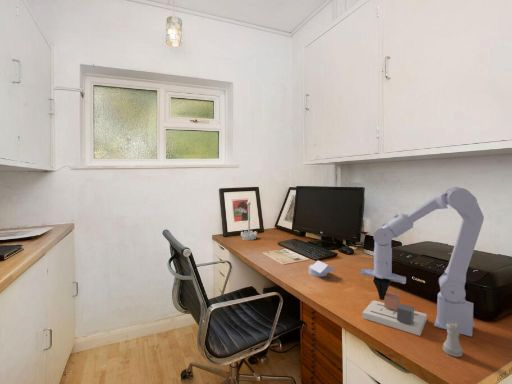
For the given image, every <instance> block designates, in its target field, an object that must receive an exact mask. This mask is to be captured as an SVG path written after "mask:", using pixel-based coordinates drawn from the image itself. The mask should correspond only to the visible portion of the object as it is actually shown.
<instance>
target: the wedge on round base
mask: <svg viewBox="0 0 512 384" xmlns="http://www.w3.org/2000/svg"><path fill="white" fill-rule="evenodd" d="M330 272H331V273H332V272H336V269H334V268H333V267H332V266H330V265H329V264H327V263H324V262H322V261H320V260H316V262H315V263H313V264H310V265H308V274H309V275H311V276H313V277H326V276H327V275H328V273H330Z"/></svg>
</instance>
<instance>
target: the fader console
mask: <svg viewBox="0 0 512 384" xmlns="http://www.w3.org/2000/svg"><path fill="white" fill-rule="evenodd" d="M361 317H362V319H365V320H368V321H371V322H374V323H377V324H381V325H384V326H387V327H390V328H394V329H397V330H400V331H402V332H403V331H404V332H406V333H410V334H414V335H416V336H421V335H422V332H423V330H424V328H425V325H426V322H427V317H428V315H427V313H424V312H420V311H417V310H416V311H415V310H414V320H413V322H412V324H408V323H404V322H401V321H397V311H396V310H392V309H389V308H385V307H384V302H382V301H378V300H377V301H376V300H375V299H374V300H372V301H371V302H370V303H369V304H368V306H366V308H365V309H364V310H363V311H362V314H361Z"/></svg>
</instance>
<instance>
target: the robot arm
mask: <svg viewBox="0 0 512 384" xmlns="http://www.w3.org/2000/svg"><path fill="white" fill-rule="evenodd" d="M448 206H450V207H451V208H452V209H454V210H456V212H457V214H458V215H459V216H460V218H461V219H462V221H461V225H460V228H459V231H458V234H457V237H456V239H455V244H454V247H453V249H452V252H451V254H450V255H451V256H450V259H449V262H448V265H447V267H446V268H445V271H444V273H443V274H442V275H441V276H440V277H439V278H438V285H439V290H440V291H439V292H438V293H437V301H436V302H437V303H436V305H437V309H436V311H437V314H436V317H435V321H434V324H433V326H434V327H436V328H439V329H442V330H446V331H447V330H448V328H447V327H446V324H448V321H450V323H452V321H453V322H454V324H455V323H458V324H459V327H460V328H461V329H460V330H459V332H458V333H459V334H460V335H464V336H468V337H473V329H474V328H475V321H474V303H473V302H471V301H467V300H466V295H467V294H466V289H465V285H466V282H467V272H468V268H469V265H470V262H471V260H472V257H473V254H474V250H475V247H476V244H477V241H478V238H479V235H480V232H481V230H482V227H483V223H484V219H485V217H484V215H483V211H482V210H481V207H480V205H479V202H478V200H477V198H476V197H475V195H474V194H472V192H471V191H469V190H468V189H466V188H464V187H458V186H454V187H451V188H448V189H447V190H446V191H443V192H441V193H439V194H437V195H435V196H433V197H430V199H428V200H426V201H425V202H424V203H422V204H421V205H420V206H417V207H416V208H415V209H413V210H412V211H410V212H409V213H400V214H398V213H397V214H395V215H394V216H393V218H392V219H391V220H389V221H388V222H383V223H382V224H381V226H379V227H377V228H376V229H375V231H374V232H373V241H374V244H373V245H374V248H373V269H367V268H361V269H360V276H367V277H371V278H373V280H372V281H373V284H374V285H375V288H376V290H377V292H378V298H379V300H381V301H384V298H385V295H386V294H387V292H388V290H389V287H390V285H391V283H392V282H394V283H395V282H396V283H400V284H403V285H405V284H406V283H407V276H403V275H399V274H396V273H392V270H393V268H392V266H393V264H392V263H393V262H392V261H393V250H392V241H393V239H395V238H396V239H397V238H399V236H402V235H403V234H404V233H406V232H408V231H410V230H411V229H413V228H414V223H415V222H416V221H419V220H420V219H422V218H423V217H425V216H427V215H429V214H430V213H433V212H434V211H436V210H443V209H445V210H446V209H448Z"/></svg>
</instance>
